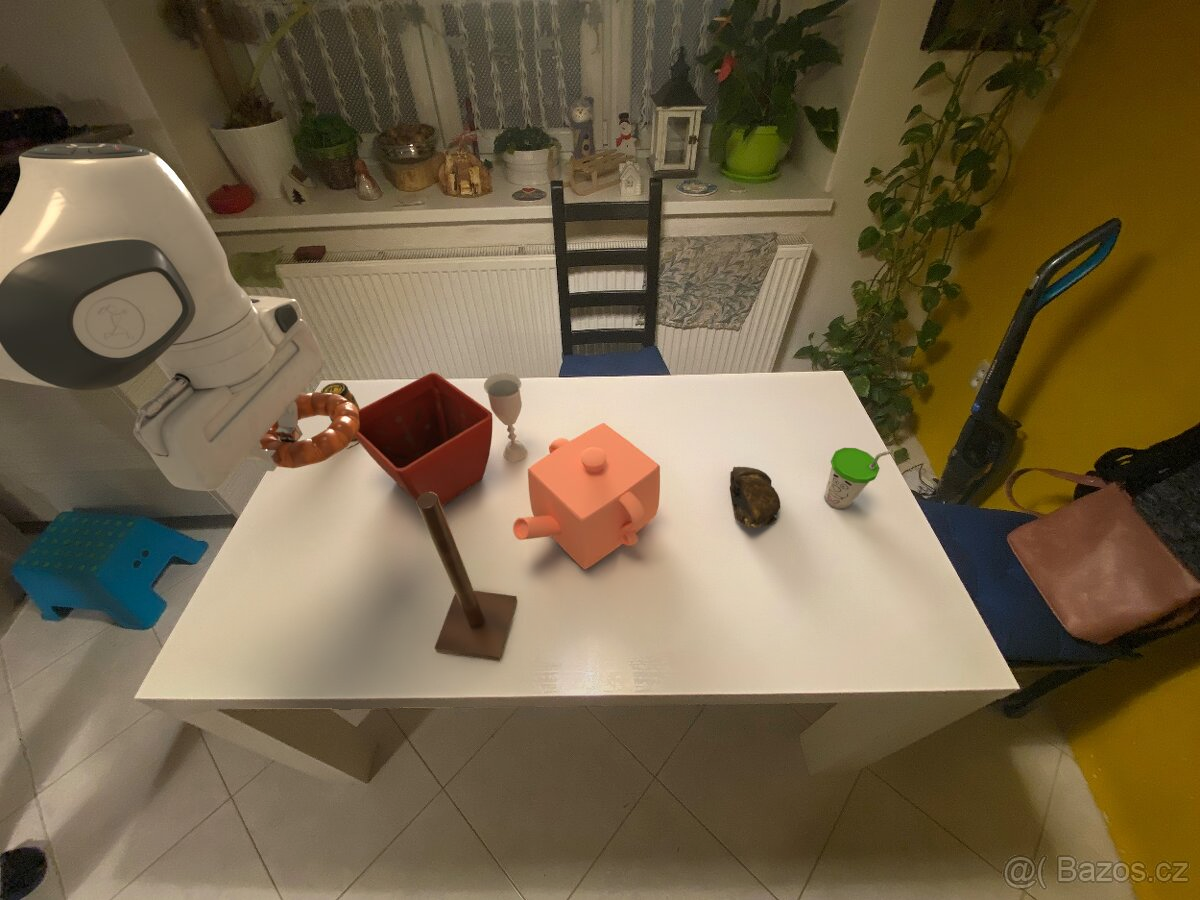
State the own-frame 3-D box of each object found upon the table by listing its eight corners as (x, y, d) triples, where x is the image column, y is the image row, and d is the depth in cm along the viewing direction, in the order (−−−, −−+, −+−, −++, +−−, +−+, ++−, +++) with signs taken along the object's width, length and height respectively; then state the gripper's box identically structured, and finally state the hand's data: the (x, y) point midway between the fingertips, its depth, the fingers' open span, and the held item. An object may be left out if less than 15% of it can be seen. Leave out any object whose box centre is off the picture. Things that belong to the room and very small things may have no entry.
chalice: (537, 457, 105) (527, 389, 92) (507, 470, 103) (492, 402, 90) (523, 436, 110) (511, 368, 97) (493, 448, 107) (477, 380, 94)
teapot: (565, 620, 80) (557, 559, 67) (488, 532, 92) (468, 466, 79) (673, 533, 92) (684, 466, 79) (592, 464, 103) (590, 397, 91)
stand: (500, 661, 76) (454, 542, 53) (436, 652, 77) (365, 531, 54) (517, 600, 83) (483, 471, 60) (458, 592, 84) (403, 463, 61)
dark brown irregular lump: (718, 469, 102) (732, 445, 97) (760, 477, 103) (775, 453, 98) (730, 536, 90) (747, 513, 85) (777, 544, 91) (796, 521, 86)
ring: (331, 477, 55) (321, 459, 53) (233, 467, 56) (220, 449, 54) (379, 410, 63) (372, 392, 61) (292, 402, 65) (283, 384, 63)
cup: (806, 497, 97) (831, 441, 86) (831, 478, 100) (858, 422, 89) (842, 523, 93) (873, 468, 82) (867, 502, 96) (899, 447, 85)
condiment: (332, 432, 111) (309, 389, 103) (368, 413, 115) (349, 371, 107) (347, 449, 108) (325, 406, 99) (384, 429, 112) (365, 386, 103)
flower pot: (452, 432, 111) (433, 369, 99) (508, 477, 101) (494, 414, 89) (372, 480, 101) (341, 417, 89) (426, 535, 92) (398, 473, 80)
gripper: (160, 425, 38) (251, 533, 48) (306, 292, 52) (353, 396, 62) (85, 418, 39) (190, 526, 49) (250, 288, 53) (305, 392, 63)
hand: (283, 452), depth 56 cm, fingers closed on ring, 3 cm apart
